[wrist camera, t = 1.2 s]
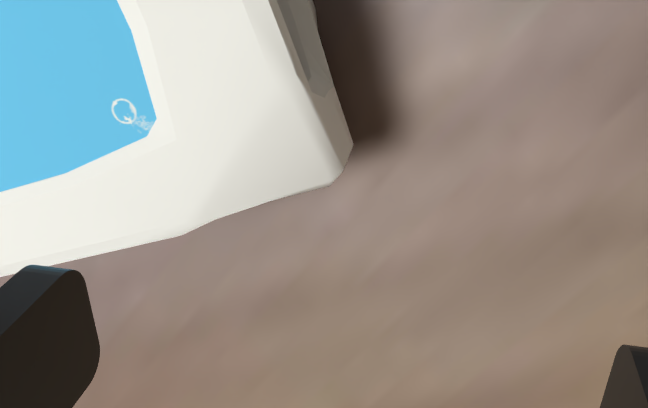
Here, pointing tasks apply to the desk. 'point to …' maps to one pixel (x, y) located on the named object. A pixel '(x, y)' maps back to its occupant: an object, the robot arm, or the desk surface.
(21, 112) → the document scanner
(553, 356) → the desk surface
